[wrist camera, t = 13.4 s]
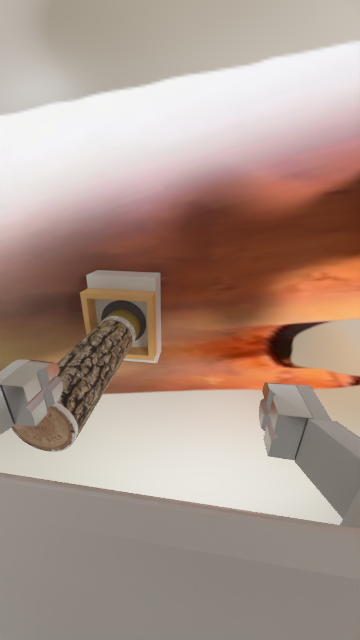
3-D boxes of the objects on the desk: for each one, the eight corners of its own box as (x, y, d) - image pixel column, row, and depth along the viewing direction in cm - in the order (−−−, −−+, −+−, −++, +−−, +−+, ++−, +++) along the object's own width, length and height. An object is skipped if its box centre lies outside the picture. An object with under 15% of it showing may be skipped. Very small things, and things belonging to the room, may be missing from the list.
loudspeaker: (160, 272, 46) (151, 281, 39) (161, 351, 53) (154, 371, 46) (97, 270, 47) (77, 278, 40) (106, 347, 54) (91, 366, 47)
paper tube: (106, 306, 44) (0, 395, 21) (141, 309, 44) (70, 403, 21) (108, 337, 47) (17, 447, 24) (141, 340, 46) (79, 455, 24)
